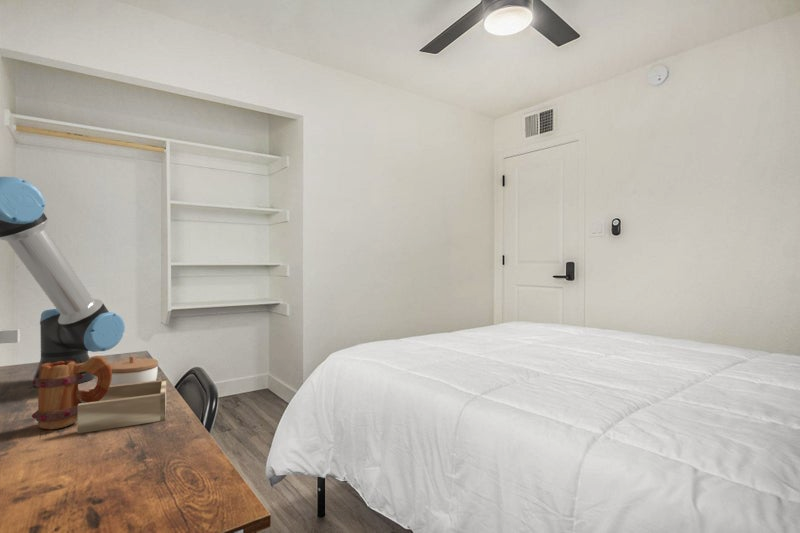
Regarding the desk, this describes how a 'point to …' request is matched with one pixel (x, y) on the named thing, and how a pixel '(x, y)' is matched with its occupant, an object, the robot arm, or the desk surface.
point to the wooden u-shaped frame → (124, 406)
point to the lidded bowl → (134, 371)
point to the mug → (67, 390)
